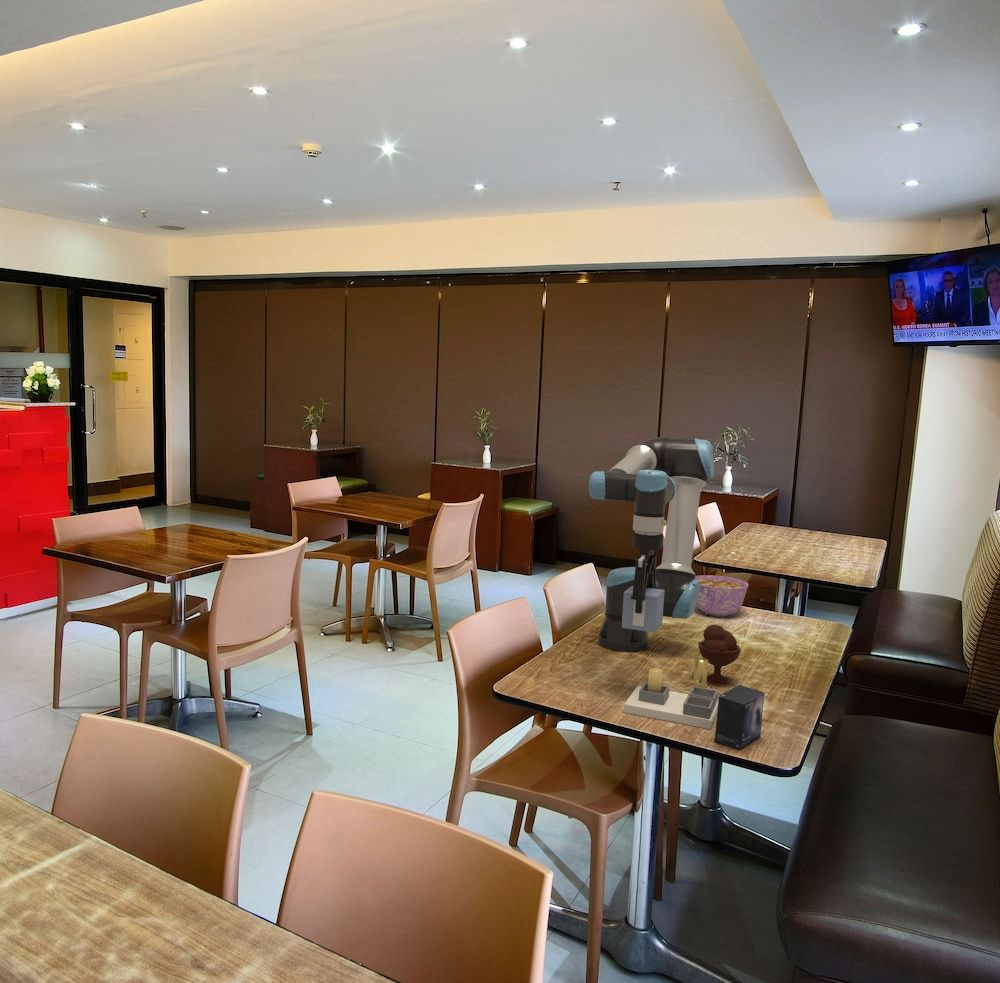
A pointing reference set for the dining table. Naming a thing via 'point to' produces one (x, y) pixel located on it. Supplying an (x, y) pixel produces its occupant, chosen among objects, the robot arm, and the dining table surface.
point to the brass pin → (700, 672)
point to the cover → (651, 610)
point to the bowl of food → (720, 594)
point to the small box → (739, 716)
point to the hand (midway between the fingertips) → (642, 620)
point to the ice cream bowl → (718, 650)
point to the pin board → (673, 703)
